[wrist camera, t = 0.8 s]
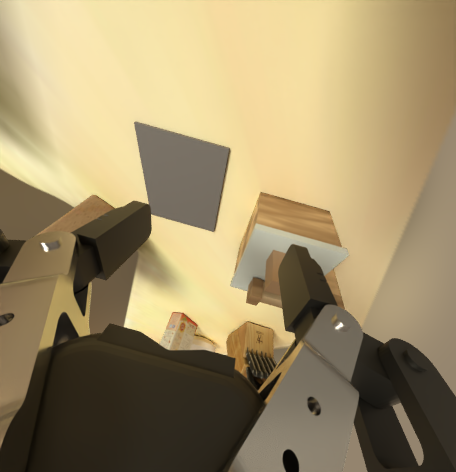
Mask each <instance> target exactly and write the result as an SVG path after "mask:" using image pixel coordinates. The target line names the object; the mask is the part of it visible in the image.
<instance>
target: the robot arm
mask: <svg viewBox="0 0 456 472" xmlns="http://www.w3.org/2000/svg"><path fill="white" fill-rule="evenodd" d="M150 234H151V207H150V205H149V204H145V203H142V202H138V201H132V202H131V203H129V204H127V205H126V206H124V207H120V208H116V209H112V210H110V211H109V212H107V213H105V214H104V215H102V216H100V217H98V218H97V219H94V220H93V221H91V222H89V223H87V224H85V225H84V226H82V227H80V228H78V229H76V230H75V231H73V232H71V233H69V232H64V231H54V232H47V233H43V234H39V235H37V236H34V237H32V238H30V239H29V240H27V241H20V240H7V239H6V237H5V235H4V234H3V232H2V231H1V230H0V472H342V471H343V467H344V463H345V458H346V454H347V450H348V445H349V440H350V436H351V432H352V427H353V423H354V425H355V429H356V432H357V435H358V439H359V443H360V446H361V450H362V453H363V457H364V460H365V464H366V468H367V471H368V472H456V397H455V395H454V394H453V392H452V391H451V390H450V388H449V386H448V385H447V383H446V382H445V381H444V379H443V378H442V376H441V375H440V373H439V372H438V371H437V369H436V368H435V367H434V365H433V364H432V363H431V362H430V360H429V359H428V358H427V357H426V356H425V355H424V354H423V353H421V352H420V351H419V350H418V349H417V348H415V347H414V346H412V345H411V344H409V343H407V342H405V341H403V340H401V339H396V338H394V339H391V340H389V341H388V342H386V343H385V344H384V343H382V342H380V341H378V340H376V339H374V338H373V337H371V336H369V335H367V334H365V333H363V332H362V329H361V327H360V325H359V323H358V322H357V321H356V319H355V318H354V317H353V316H352V315H351V314H350V313H348V312H347V311H346V310H344V309H342V308H341V307H338V305H337V302H336V300H335V298H334V296H333V293H332V291H331V289H330V287H329V284H328V283H327V280H326V278H325V276H324V273H323V271H322V269H321V267H320V265H319V264H318V263H317V262H316V261H315V260H314V259H312V258H311V257H310V254H309V252H308V249H307V248H306V247H302V246H299V245H295V244H291V245H290V247H289V249H288V250H287V252H286V254H285V256H284V258H283V260H282V262H281V264H280V266H279V270H278V278H279V286H280V293H281V301H282V309H283V316H284V324H285V331H289V332H293V333H295V338H296V339H295V340H294V341H293V342H292V344H291V345H290V347H289V348H288V350H287V351H286V353H285V354H284V356H283V357H282V358H281V360H280V361H279V363H278V364H277V366H276V367H275V369H274V370H273V372H272V373H271V374H270V376H269V377H268V378H267V380H266V381H265V382H264V383H263V385H262V386H261V387H260V389H259V390H258V391H257V390H256V388H255V387H254V386H253V384H252V383H251V382H250V381H249V380H248V379H247V378H246V377H245V376H244V375H243V374H241V373H240V372H239V371H237V370H236V369H235V360H236V358H233V357H229V356H226V355H222V354H218V353H215V352H211V351H208V350H168V349H166V348H164V347H163V346H161V345H160V344H158V343H157V342H155V341H154V340H152V339H151V338H149V337H148V336H146V335H144V334H143V333H141V332H139V331H136V330H132V329H128V328H125V327H121V326H117V325H114V324H109V325H108V326H107V328H106V329H105V330H104V332H103V333H97V334H90V330H89V311H90V299H91V288H92V284H91V281H92V280H93V279H94V278H95V277H96V278H100V279H103V280H107V279H108V278H109V277H110V276H111V275H112V274H113V273H114V272H115V271H116V270H117V269H118V268H119V267H120V266H121V265H122V264H123V263H124V262H125V261H126V260H127V259H128V258H129V257H130V256H131V255H132V254H133V253H134V252H135V251H136V250H137V249H138V248H139V247H140V246H141V245H142V244H143V243H144V242H145V241H146V240H147V239H148V238H149V236H150ZM398 403H401V404H402V405H403V407H404V410H405V412H406V414H407V416H408V418H409V420H410V422H411V424H412V426H413V429H414V431H415V433H416V435H417V437H418V439H419V441H420V443H421V446H422V449H423V454H424V460H423V463H422V465H421V466H418V463H417V461H416V459H415V457H414V454H413V452H412V450H411V448H410V445H409V443H408V441H407V439H406V436H405V434H404V432H403V429H402V427H401V425H400V423H399V420H398V418H397V416H396V414H395V411H394V409H393V407H392V406H393V405H396V404H398Z"/></svg>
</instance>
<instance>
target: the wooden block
mask: <svg viewBox="0 0 456 472" xmlns="http://www.w3.org/2000/svg"><path fill="white" fill-rule="evenodd" d="M112 209H114V208H113V207H112V206H110V205H109V204H107V203H106V202H104V201H103V200H102V199H100V198H99V197H97V196H96V195H92V196H90V197H89V198H88V199H86V200H85V201H83V202H82V203H81V204H79V205H78V206H76V207H75V208H74V209H72V210H71V211H70V212H68V213H67V214H65V215H64V216H62V217H61V218H60V219H59V220H57V221H56V222H54V223H53V224H51V225H50V226H49V227H47V228H46V229H44V230H43V231H42V232H40V233H39V234H43V233H47V232H54V231H64V232H69V233H71V232H73V231H75V230H76V229H78V228H80V227H82V226H84V225H85V224H87V223H89V222H91V221H93V220H94V219H97V218H98V217H100V216H102V215H104V214H105V213H107V212H109V211H110V210H112ZM39 234H37V235H39ZM37 235H36V236H37Z"/></svg>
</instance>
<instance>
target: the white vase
mask: <svg viewBox="0 0 456 472" xmlns="http://www.w3.org/2000/svg"><path fill="white" fill-rule="evenodd" d="M190 350H208V351H211V352H215V346H214V345H213V343H212V342H211V341H210V340H208V339H206V338H204V337H201V336H195V335H194V338H193V342H192V345H191V348H190Z"/></svg>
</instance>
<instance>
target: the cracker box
mask: <svg viewBox="0 0 456 472" xmlns="http://www.w3.org/2000/svg"><path fill="white" fill-rule="evenodd" d="M196 329H197V325H196V324H195V323H194V322H193V321H192V320H190V319H189V318H188V317H187V316H186V315H184V314H183V313H172V315H171V318H170V320H169V323H168V325H167V327H166V330H165V332H164V334H163V337H162V339H161V342H160V345H161V346H163V347H164V348H166V349H168V350H190V348H191V345H192V342H193V338H194V335H195V332H196Z"/></svg>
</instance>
